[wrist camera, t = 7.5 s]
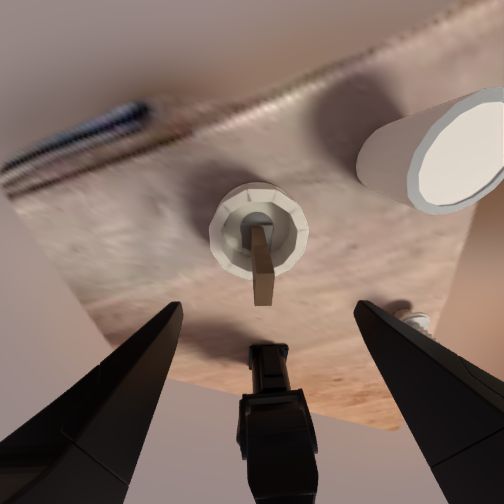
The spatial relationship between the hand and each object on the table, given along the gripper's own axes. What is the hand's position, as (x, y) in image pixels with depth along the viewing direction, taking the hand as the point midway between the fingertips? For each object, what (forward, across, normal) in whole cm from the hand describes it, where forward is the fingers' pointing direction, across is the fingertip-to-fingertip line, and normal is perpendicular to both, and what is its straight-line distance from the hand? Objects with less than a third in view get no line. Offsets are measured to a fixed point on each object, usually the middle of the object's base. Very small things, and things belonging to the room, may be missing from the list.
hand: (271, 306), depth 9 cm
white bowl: (+12, 0, 0) cm, 12 cm away
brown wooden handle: (+11, 0, +1) cm, 11 cm away
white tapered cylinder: (+12, -12, -7) cm, 18 cm away
